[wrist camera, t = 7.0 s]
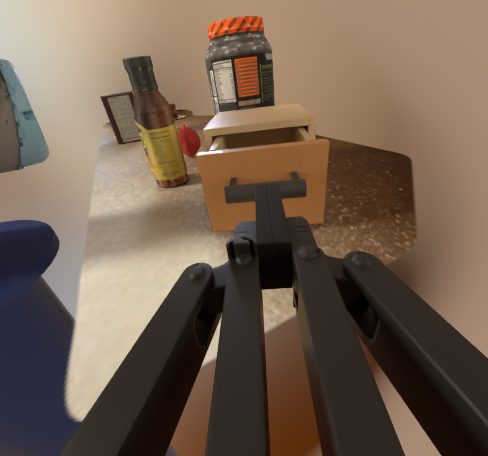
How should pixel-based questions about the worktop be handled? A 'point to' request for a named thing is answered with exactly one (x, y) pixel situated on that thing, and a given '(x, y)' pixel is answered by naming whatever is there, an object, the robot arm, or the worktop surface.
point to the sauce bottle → (155, 124)
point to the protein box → (122, 116)
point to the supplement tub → (239, 64)
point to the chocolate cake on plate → (175, 112)
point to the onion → (189, 140)
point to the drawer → (264, 174)
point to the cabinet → (259, 121)
